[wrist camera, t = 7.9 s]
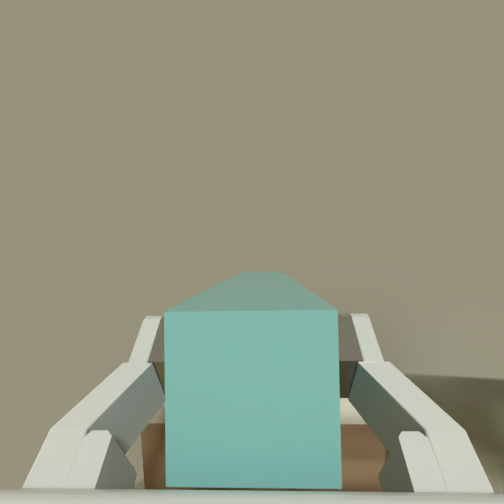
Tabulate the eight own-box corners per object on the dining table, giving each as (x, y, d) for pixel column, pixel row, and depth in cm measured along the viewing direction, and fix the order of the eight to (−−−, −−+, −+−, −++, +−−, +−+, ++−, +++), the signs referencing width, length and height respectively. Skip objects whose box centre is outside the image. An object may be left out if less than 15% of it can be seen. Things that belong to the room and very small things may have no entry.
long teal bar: (342, 488, 7) (337, 309, 7) (165, 487, 7) (164, 311, 7) (282, 309, 31) (281, 271, 31) (244, 310, 31) (243, 272, 31)
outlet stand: (371, 816, 19) (387, 405, 16) (168, 806, 20) (138, 404, 16) (319, 519, 38) (321, 297, 34) (214, 518, 38) (205, 298, 35)
